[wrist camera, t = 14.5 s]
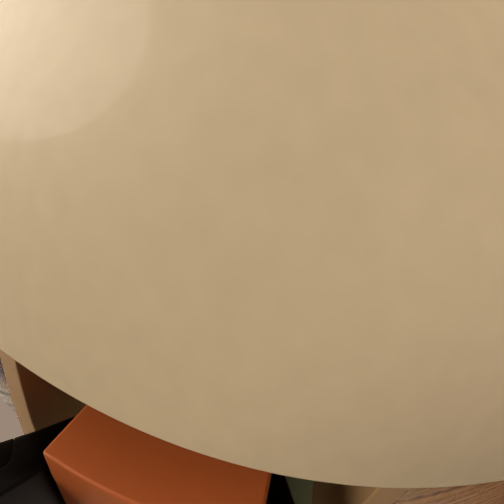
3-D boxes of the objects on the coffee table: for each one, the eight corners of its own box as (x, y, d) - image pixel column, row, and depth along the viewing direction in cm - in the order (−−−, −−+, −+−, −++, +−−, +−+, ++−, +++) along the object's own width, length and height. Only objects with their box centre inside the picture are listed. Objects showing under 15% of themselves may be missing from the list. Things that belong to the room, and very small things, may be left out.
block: (249, 482, 8) (220, 583, 4) (134, 442, 9) (77, 526, 5) (284, 401, 7) (258, 543, 3) (134, 352, 8) (40, 451, 4)
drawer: (294, 510, 13) (280, 599, 7) (108, 450, 15) (57, 521, 9) (469, 45, 7) (569, -29, 1) (163, -15, 8) (71, -102, 2)
